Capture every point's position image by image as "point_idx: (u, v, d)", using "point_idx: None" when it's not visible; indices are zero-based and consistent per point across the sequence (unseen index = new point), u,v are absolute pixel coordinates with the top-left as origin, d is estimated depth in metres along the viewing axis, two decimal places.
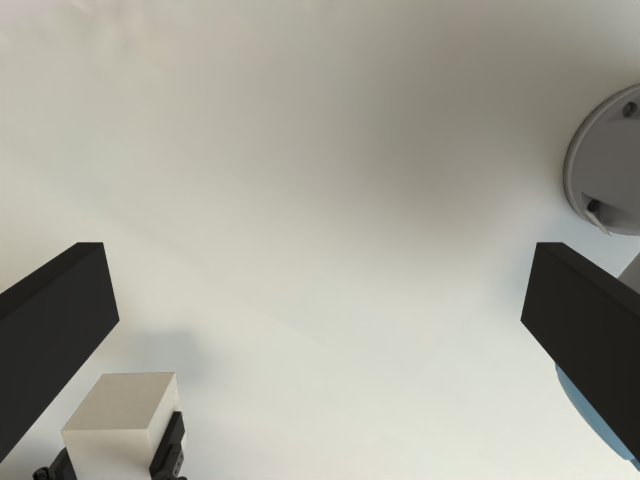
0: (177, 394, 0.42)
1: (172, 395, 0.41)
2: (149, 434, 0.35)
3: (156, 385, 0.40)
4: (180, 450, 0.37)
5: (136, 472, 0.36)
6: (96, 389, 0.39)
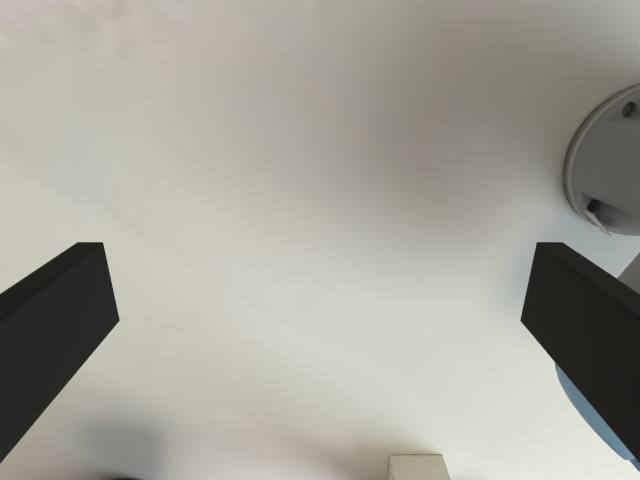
0: None
1: None
2: None
3: (438, 467, 0.55)
4: None
5: None
6: (396, 469, 0.55)
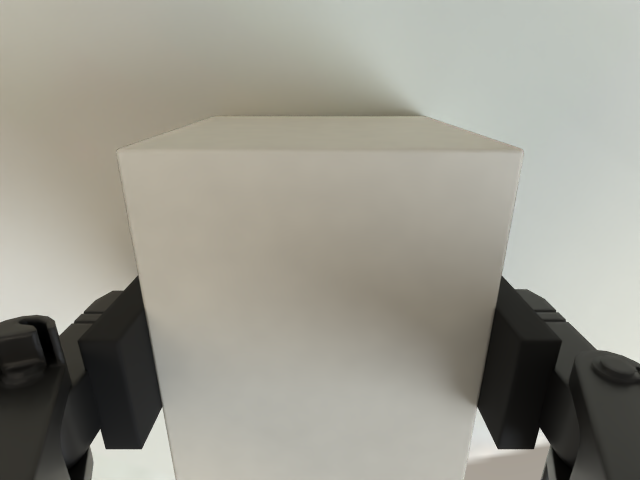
0: None
1: None
2: (513, 194, 0.08)
3: (404, 120, 0.12)
4: None
5: (400, 376, 0.09)
6: (211, 121, 0.12)
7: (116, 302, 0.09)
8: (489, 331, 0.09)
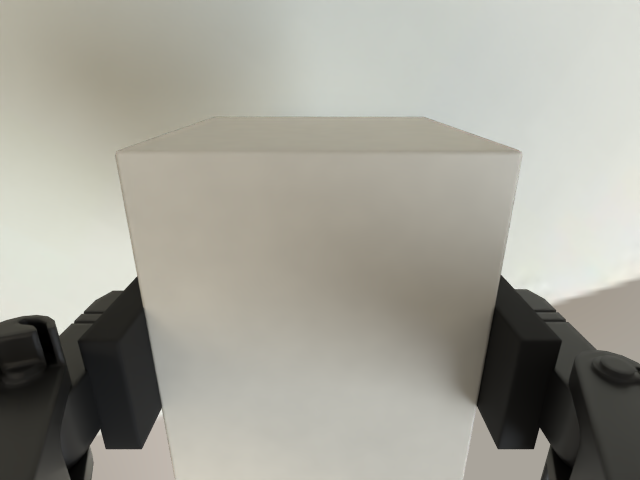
0: None
1: None
2: (512, 195, 0.08)
3: (403, 122, 0.12)
4: None
5: (399, 377, 0.09)
6: (210, 123, 0.12)
7: (115, 302, 0.09)
8: (488, 332, 0.09)
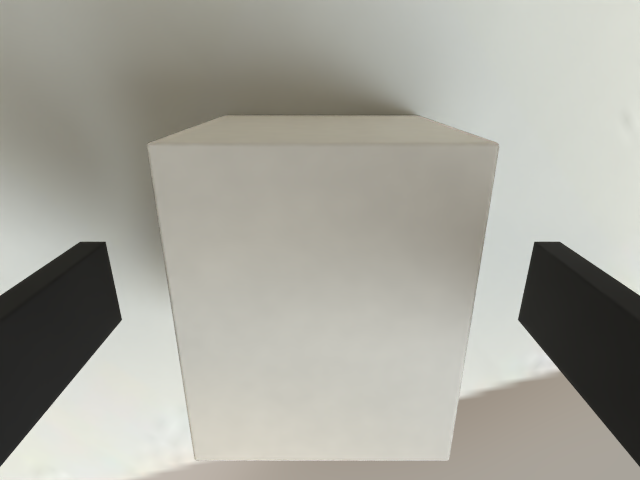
0: None
1: None
2: (491, 182, 0.09)
3: (399, 120, 0.13)
4: None
5: (393, 345, 0.10)
6: (223, 120, 0.13)
7: None
8: (472, 305, 0.10)
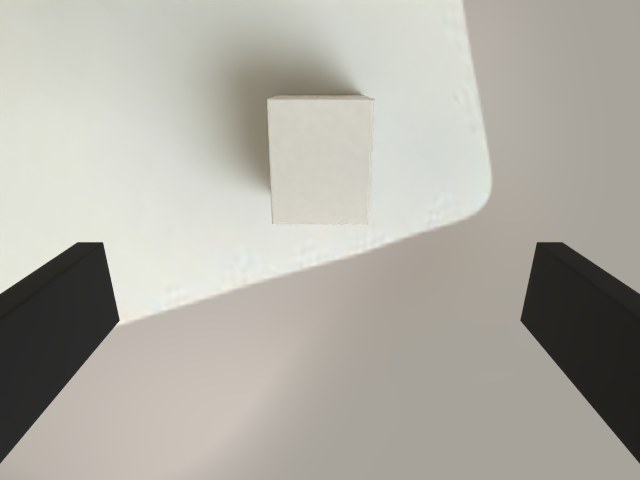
0: None
1: None
2: (373, 112, 0.28)
3: None
4: None
5: (345, 172, 0.30)
6: None
7: None
8: (371, 155, 0.29)
